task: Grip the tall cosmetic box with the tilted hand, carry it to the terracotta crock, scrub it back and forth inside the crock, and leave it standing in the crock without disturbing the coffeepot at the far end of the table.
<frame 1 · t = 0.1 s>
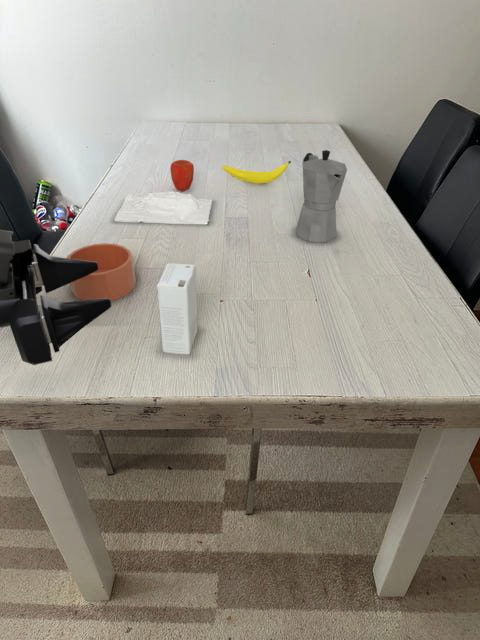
hand: (103, 283, 54), 14 cm above the table, tool horizontal, fingers open, 9 cm apart
coffeepot: (313, 232, 99), on the table
cosmetic box: (181, 343, 67), on the table
banana: (255, 184, 124), on the table
red piece: (183, 190, 119), on the table
terrain model: (165, 212, 107), on the table
crock: (104, 284, 80), on the table
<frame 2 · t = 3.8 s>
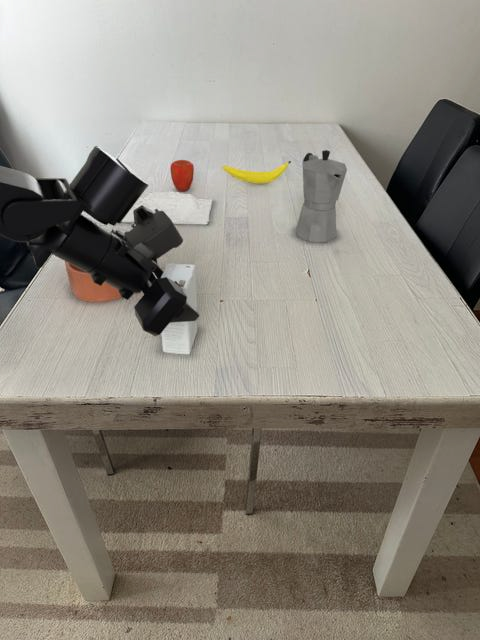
hand: (187, 304, 64), 7 cm above the table, tool tilted 45°, fingers closed on cosmetic box, 7 cm apart
cosmetic box: (181, 343, 67), on the table, touching gripper
everything else where it was.
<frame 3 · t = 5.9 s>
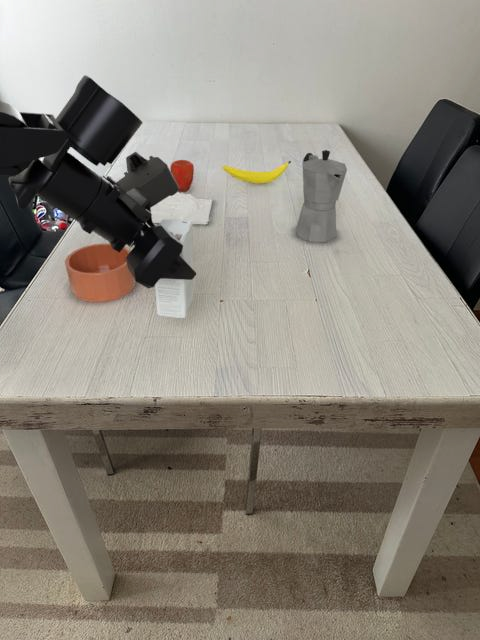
hand: (184, 263, 60), 13 cm above the table, tool tilted 45°, fingers closed on cosmetic box, 7 cm apart
cosmetic box: (177, 307, 63), point 6 cm above the table, touching gripper
everything else where it was.
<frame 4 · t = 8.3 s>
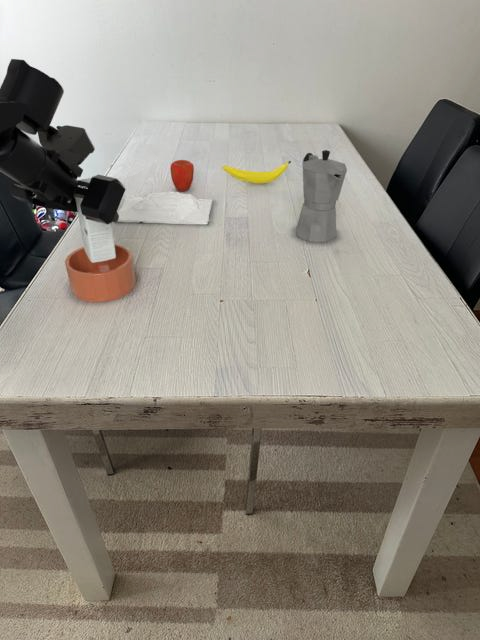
hand: (100, 214, 73), 13 cm above the table, tool tilted 45°, fingers closed on cosmetic box, 7 cm apart
cosmetic box: (101, 255, 76), point 6 cm above the table, touching gripper
everything else where it was.
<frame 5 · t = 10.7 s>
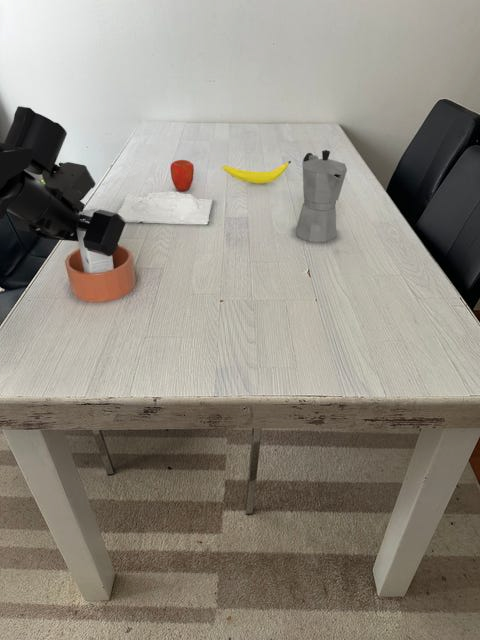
hand: (100, 243, 76), 8 cm above the table, tool tilted 45°, fingers closed on cosmetic box, 7 cm apart
cosmetic box: (101, 280, 79), point 1 cm above the table, touching gripper
everything else where it was.
when the fingers open (7 cm above the table, at t = 12.7 s): cosmetic box stays where it is, resting on crock.
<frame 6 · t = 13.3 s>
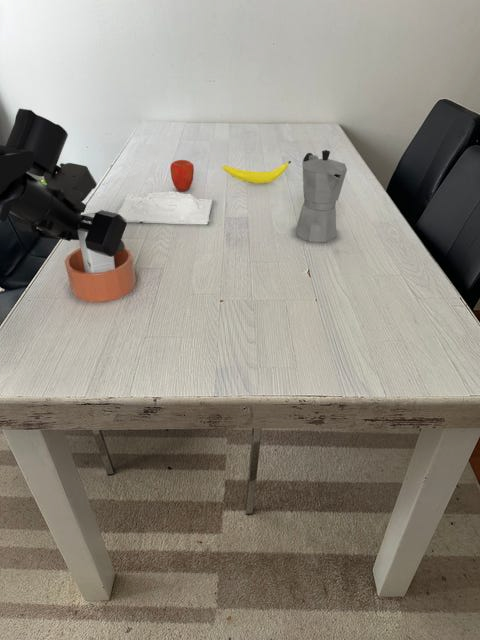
hand: (101, 242, 76), 8 cm above the table, tool tilted 45°, fingers open, 9 cm apart
cosmetic box: (103, 283, 80), resting on crock
everything else where it was.
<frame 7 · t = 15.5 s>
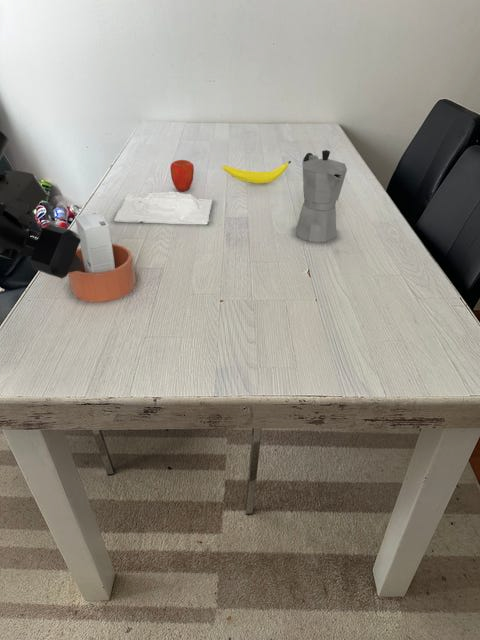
hand: (58, 259, 68), 10 cm above the table, tool tilted 45°, fingers open, 9 cm apart
nothing on the table moved.
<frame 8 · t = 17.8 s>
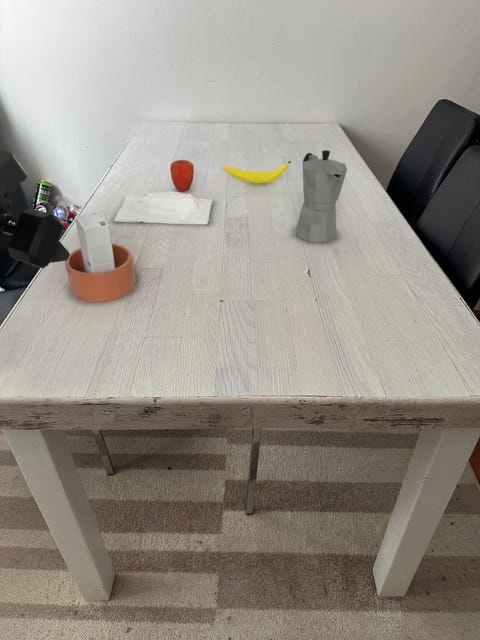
hand: (42, 249, 62), 14 cm above the table, tool tilted 45°, fingers open, 9 cm apart
nothing on the table moved.
at the end: cosmetic box 0.1 cm off-centre in the crock, point 0.4 cm above the crock's base; cosmetic box tilted 0°; coffeepot moved 0.2 cm from its start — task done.
